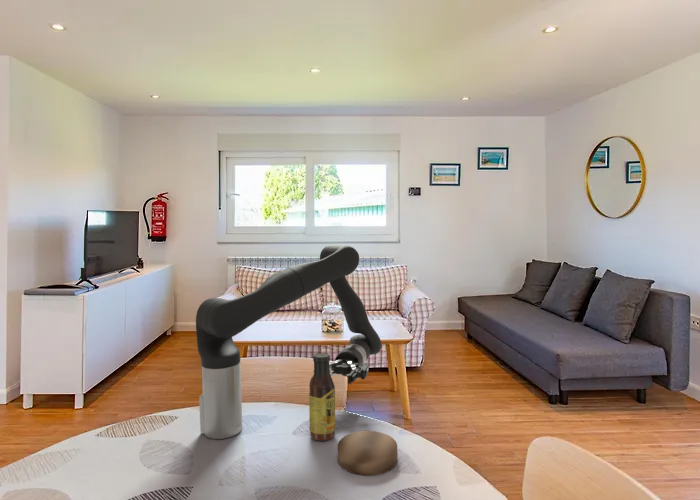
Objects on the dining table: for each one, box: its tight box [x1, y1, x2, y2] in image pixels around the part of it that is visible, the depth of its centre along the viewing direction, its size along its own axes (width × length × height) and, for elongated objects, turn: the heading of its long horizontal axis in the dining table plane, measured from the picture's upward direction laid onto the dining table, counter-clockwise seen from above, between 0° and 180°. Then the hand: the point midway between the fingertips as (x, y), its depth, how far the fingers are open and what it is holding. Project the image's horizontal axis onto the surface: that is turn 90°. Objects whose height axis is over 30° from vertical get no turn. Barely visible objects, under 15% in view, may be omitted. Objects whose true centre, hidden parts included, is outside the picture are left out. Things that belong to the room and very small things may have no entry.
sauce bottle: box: [308, 352, 336, 442], centre depth 104 cm, size 7×6×20 cm
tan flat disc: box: [337, 430, 398, 477], centre depth 94 cm, size 13×13×3 cm
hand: (333, 378), depth 112 cm, fingers open, 8 cm apart
